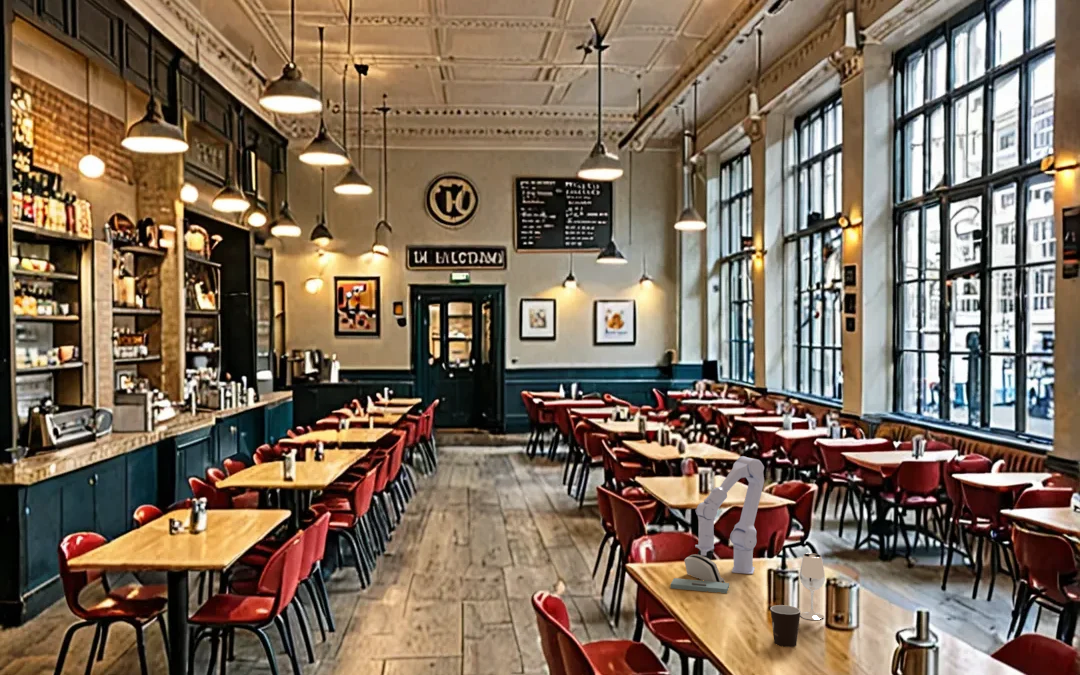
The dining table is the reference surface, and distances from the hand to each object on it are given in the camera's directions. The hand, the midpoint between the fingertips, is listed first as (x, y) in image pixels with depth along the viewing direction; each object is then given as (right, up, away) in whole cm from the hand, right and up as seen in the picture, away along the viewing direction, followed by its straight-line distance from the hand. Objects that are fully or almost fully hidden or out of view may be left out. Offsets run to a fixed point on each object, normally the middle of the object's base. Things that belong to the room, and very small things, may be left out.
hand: (705, 570), depth 332 cm
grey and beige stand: (-2, -2, -5) cm, 6 cm away
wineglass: (+25, -2, -49) cm, 55 cm away
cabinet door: (-5, -2, -17) cm, 18 cm away
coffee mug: (+10, -2, -72) cm, 73 cm away
